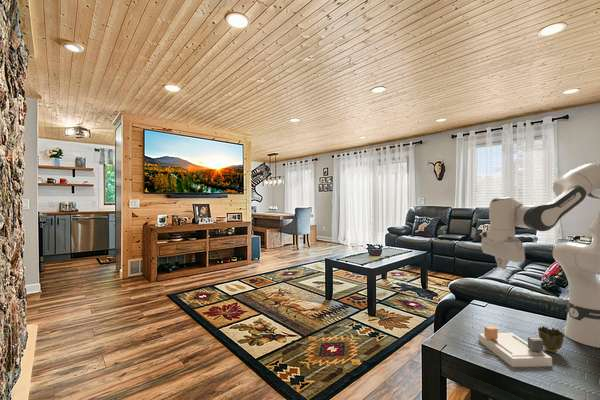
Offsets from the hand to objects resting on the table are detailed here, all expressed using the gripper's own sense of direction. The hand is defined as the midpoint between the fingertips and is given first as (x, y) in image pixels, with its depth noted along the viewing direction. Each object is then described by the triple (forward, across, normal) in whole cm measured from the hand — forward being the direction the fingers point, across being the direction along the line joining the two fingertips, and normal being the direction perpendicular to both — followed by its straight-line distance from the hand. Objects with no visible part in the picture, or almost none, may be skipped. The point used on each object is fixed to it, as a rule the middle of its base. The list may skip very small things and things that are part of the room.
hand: (501, 268), depth 119 cm
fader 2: (+25, -16, 0) cm, 30 cm away
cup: (+29, -12, -10) cm, 33 cm away
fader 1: (+26, -7, +10) cm, 28 cm away
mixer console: (+29, -12, +5) cm, 32 cm away
